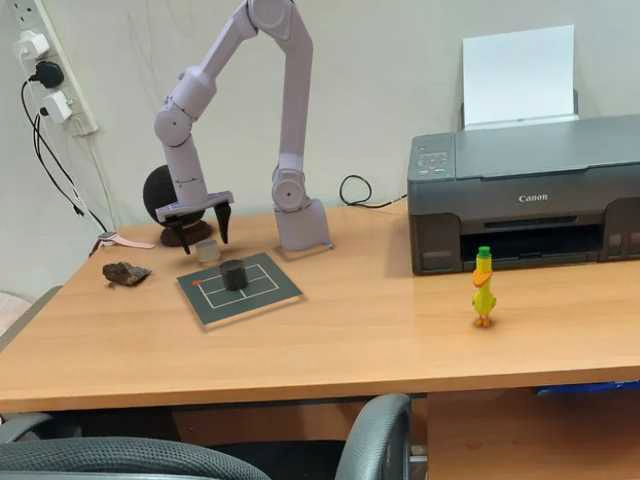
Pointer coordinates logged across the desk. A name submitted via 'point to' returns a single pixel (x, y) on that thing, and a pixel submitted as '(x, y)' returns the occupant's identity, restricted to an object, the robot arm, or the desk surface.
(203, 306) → the game board
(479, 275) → the toy figure
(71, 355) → the desk surface
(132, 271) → the rock sample
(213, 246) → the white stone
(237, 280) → the dark grey cylinder
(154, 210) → the black ball on stand
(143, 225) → the desk surface
